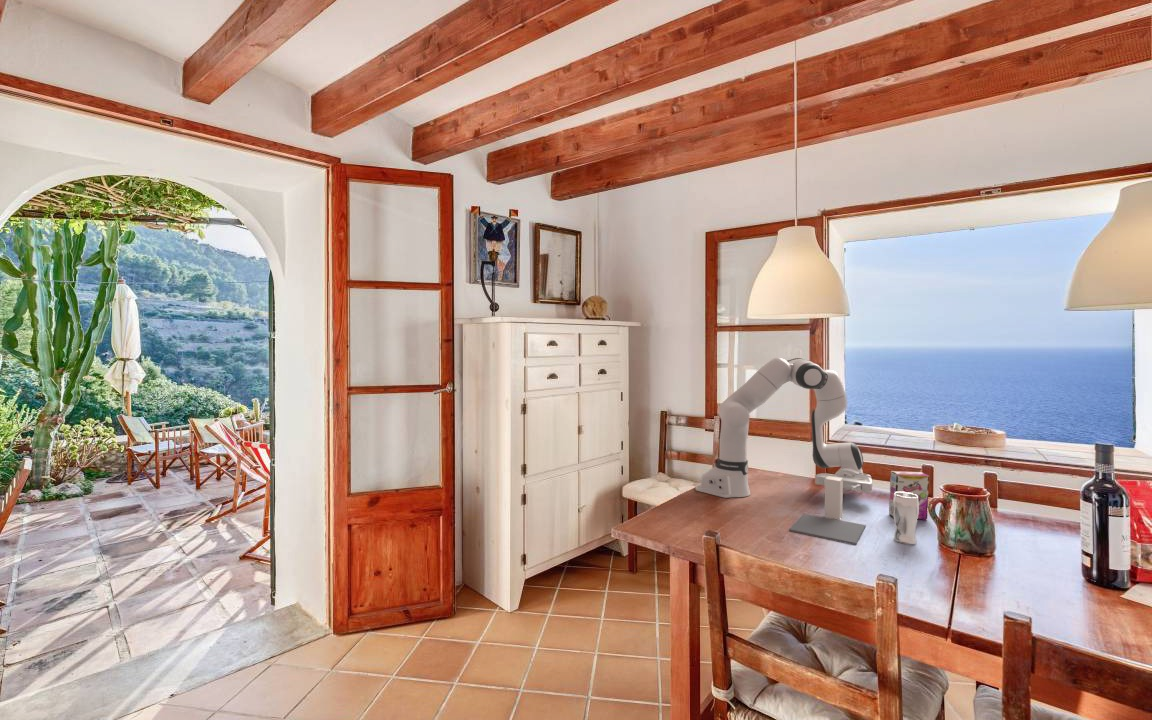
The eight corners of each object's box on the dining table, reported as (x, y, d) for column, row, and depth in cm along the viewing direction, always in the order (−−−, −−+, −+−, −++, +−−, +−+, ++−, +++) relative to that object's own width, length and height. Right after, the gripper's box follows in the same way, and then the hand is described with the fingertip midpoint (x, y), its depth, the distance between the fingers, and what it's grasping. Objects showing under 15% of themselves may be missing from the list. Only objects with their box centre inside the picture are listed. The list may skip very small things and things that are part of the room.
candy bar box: (895, 519, 185) (896, 474, 185) (888, 514, 190) (889, 470, 190) (928, 520, 184) (929, 475, 184) (920, 515, 189) (921, 471, 188)
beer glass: (908, 546, 160) (909, 498, 160) (887, 538, 167) (888, 492, 166) (923, 543, 163) (924, 496, 162) (901, 535, 169) (903, 490, 169)
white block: (824, 516, 188) (825, 478, 187) (827, 513, 192) (828, 475, 191) (839, 519, 185) (840, 481, 184) (842, 516, 189) (843, 478, 188)
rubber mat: (789, 530, 174) (789, 529, 174) (803, 515, 190) (803, 513, 190) (856, 544, 162) (856, 543, 162) (865, 526, 178) (865, 525, 178)
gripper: (818, 467, 215) (811, 474, 204) (875, 475, 203) (870, 483, 192) (818, 482, 215) (810, 490, 204) (874, 491, 203) (869, 500, 192)
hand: (840, 487), depth 198 cm, fingers open, 8 cm apart
